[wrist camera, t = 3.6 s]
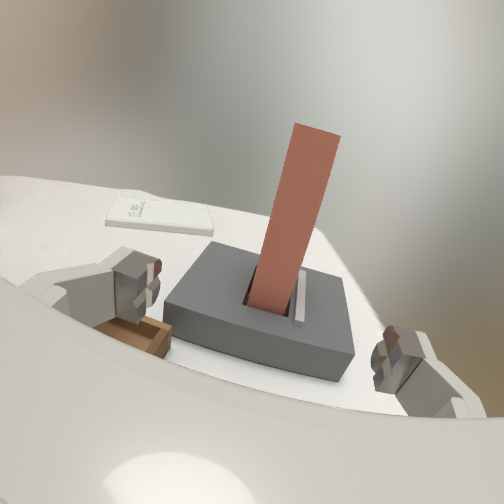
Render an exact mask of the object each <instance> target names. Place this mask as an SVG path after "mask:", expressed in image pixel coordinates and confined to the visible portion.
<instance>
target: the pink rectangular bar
mask: <svg viewBox="0 0 504 504" xmlns="http://www.w3.org/2000/svg"><path fill="white" fill-rule="evenodd" d="M339 141H340V136H339V135H336V134H332V133H329V132H326V131H323V130H319V129H315V128H312V127H309V126H305V125H301V124H298V123H295V125H294V128H293V132H292V136H291V140H290V144H289V148H288V151H287V155H286V159H285V163H284V167H283V171H282V174H281V179H280V182H279V186H278V190H277V194H276V198H275V201H274V205H273V209H272V213H271V216H270V220H269V224H268V228H267V231H266V235H265V239H264V243H263V246H262V250H261V254H260V258H259V261H258V265H257V269H256V273H255V276H254V280H253V284H252V287H251V291H250V295H249V299H248V302H247V306H249V307H253V308H256V309H260V310H263V311H267V312H270V313H274V314H277V315H281V316H283V315H284V313H285V310H286V307H287V304H288V302H289V299H290V296H291V293H292V290H293V287H294V285H295V282H296V279H297V276H298V273H299V270H300V267H301V264H302V261H303V258H304V255H305V252H306V249H307V246H308V243H309V240H310V237H311V234H312V231H313V228H314V225H315V222H316V218H317V215H318V212H319V209H320V206H321V202H322V199H323V196H324V192H325V189H326V186H327V182H328V179H329V176H330V172H331V169H332V165H333V162H334V158H335V155H336V151H337V148H338V144H339Z"/></svg>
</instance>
